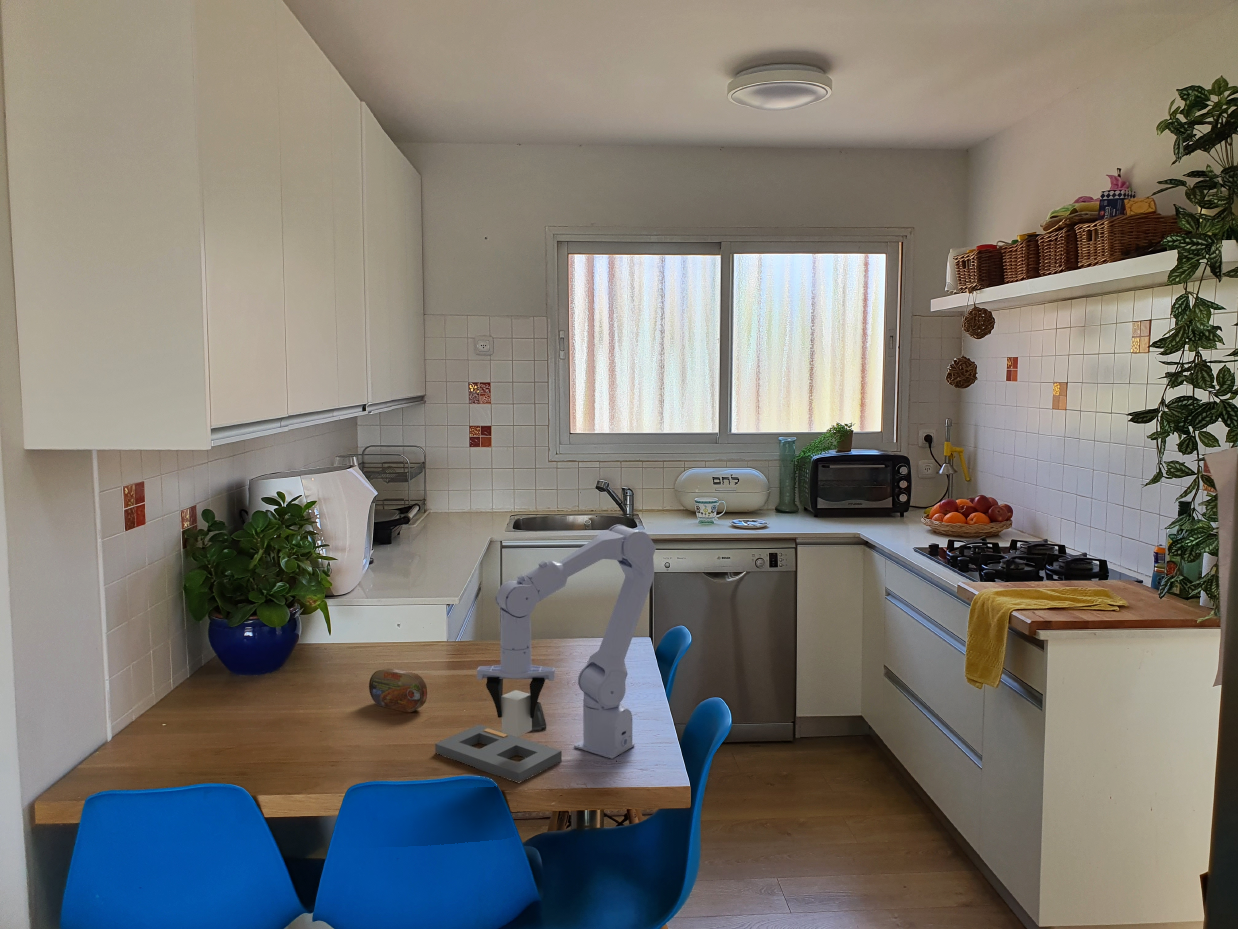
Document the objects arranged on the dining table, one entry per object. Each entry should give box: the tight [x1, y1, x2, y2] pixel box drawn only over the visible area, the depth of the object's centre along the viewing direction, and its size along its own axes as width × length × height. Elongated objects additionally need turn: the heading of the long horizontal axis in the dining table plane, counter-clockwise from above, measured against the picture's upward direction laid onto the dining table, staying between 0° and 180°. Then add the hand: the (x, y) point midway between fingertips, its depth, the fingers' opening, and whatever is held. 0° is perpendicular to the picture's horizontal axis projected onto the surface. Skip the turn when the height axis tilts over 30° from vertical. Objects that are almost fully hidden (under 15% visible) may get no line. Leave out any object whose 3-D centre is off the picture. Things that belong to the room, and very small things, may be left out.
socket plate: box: [434, 724, 563, 782], centre depth 171 cm, size 22×12×2 cm, turn 54°
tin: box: [368, 668, 428, 713], centre depth 197 cm, size 15×3×8 cm, turn 62°
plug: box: [501, 689, 532, 737], centre depth 167 cm, size 4×4×7 cm
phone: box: [528, 701, 547, 733], centre depth 191 cm, size 8×1×15 cm
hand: (516, 716), depth 167 cm, fingers closed on plug, 5 cm apart
